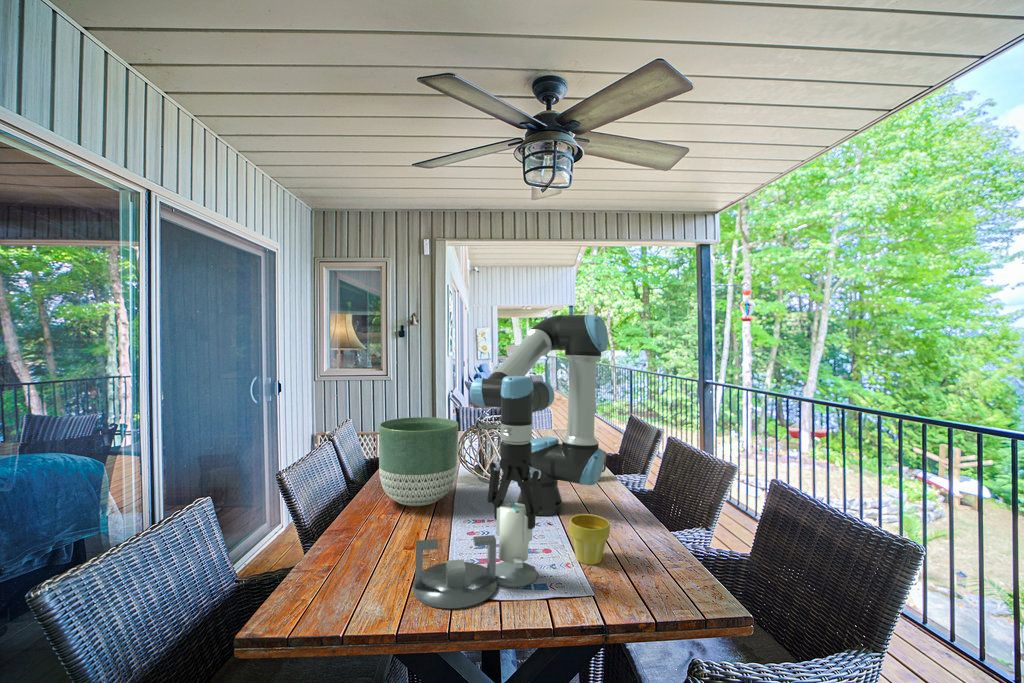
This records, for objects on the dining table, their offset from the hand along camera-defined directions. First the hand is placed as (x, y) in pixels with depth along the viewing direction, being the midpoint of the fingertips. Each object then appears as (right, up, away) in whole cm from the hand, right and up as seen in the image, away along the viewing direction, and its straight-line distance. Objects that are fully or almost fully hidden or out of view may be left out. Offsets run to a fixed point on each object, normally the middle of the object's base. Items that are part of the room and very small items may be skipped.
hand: (514, 537), depth 110 cm
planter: (-33, -9, +48) cm, 59 cm away
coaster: (0, -9, 0) cm, 9 cm away
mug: (+33, -10, +78) cm, 85 cm away
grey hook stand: (-13, -9, -5) cm, 17 cm away
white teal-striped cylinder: (0, -5, 0) cm, 5 cm away
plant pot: (+19, -10, +9) cm, 24 cm away
